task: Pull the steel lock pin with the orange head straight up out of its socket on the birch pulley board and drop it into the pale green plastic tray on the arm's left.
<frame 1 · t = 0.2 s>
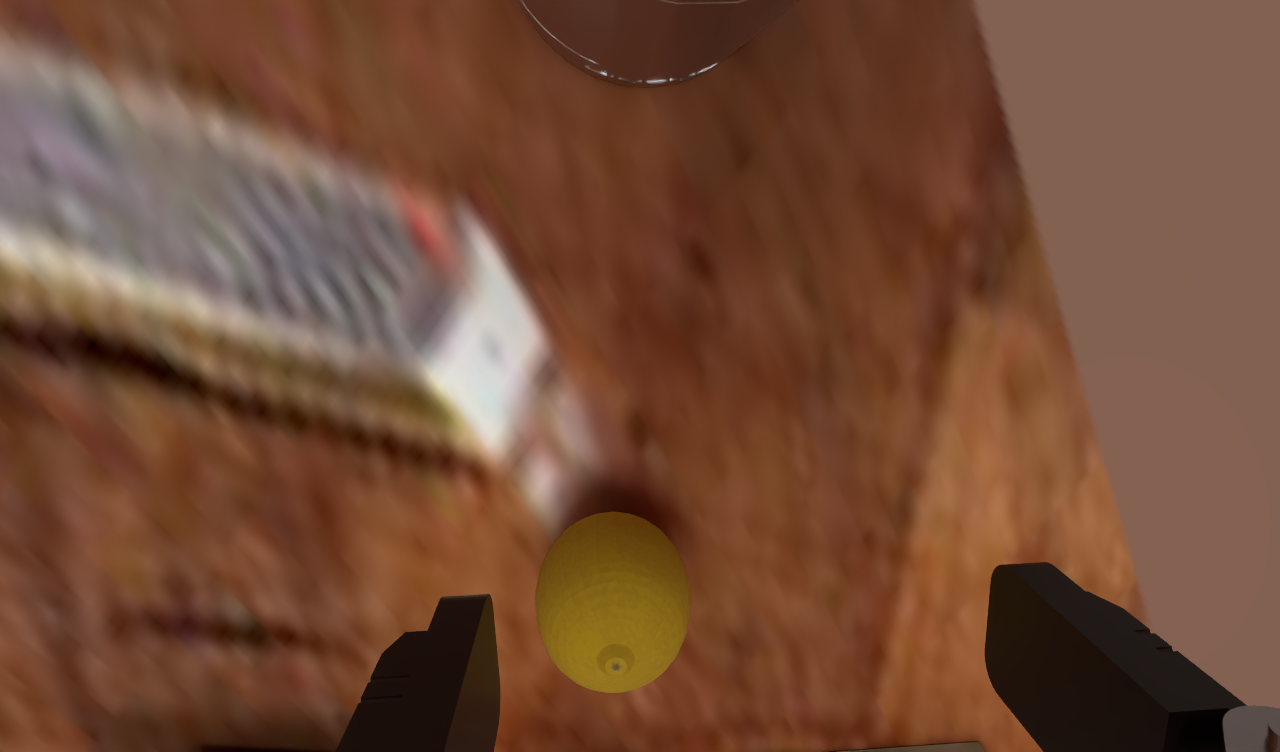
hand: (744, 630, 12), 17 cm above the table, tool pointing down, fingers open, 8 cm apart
lemon: (610, 538, 31), on the table
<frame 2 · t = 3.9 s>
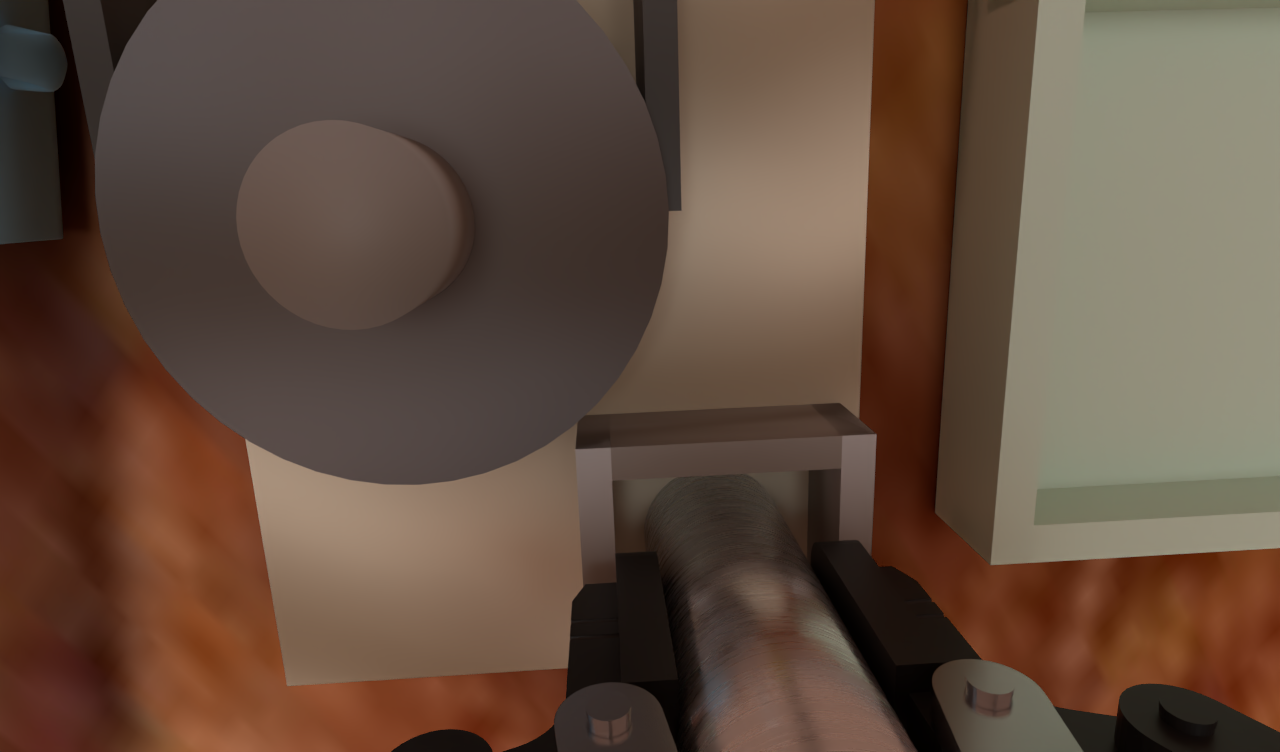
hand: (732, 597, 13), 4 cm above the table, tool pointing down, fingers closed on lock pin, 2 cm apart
pulley board: (557, 332, 16), on the table
tray: (1204, 258, 16), on the table
lock pin: (711, 530, 15), point 1 cm above the table, touching gripper, pulley board
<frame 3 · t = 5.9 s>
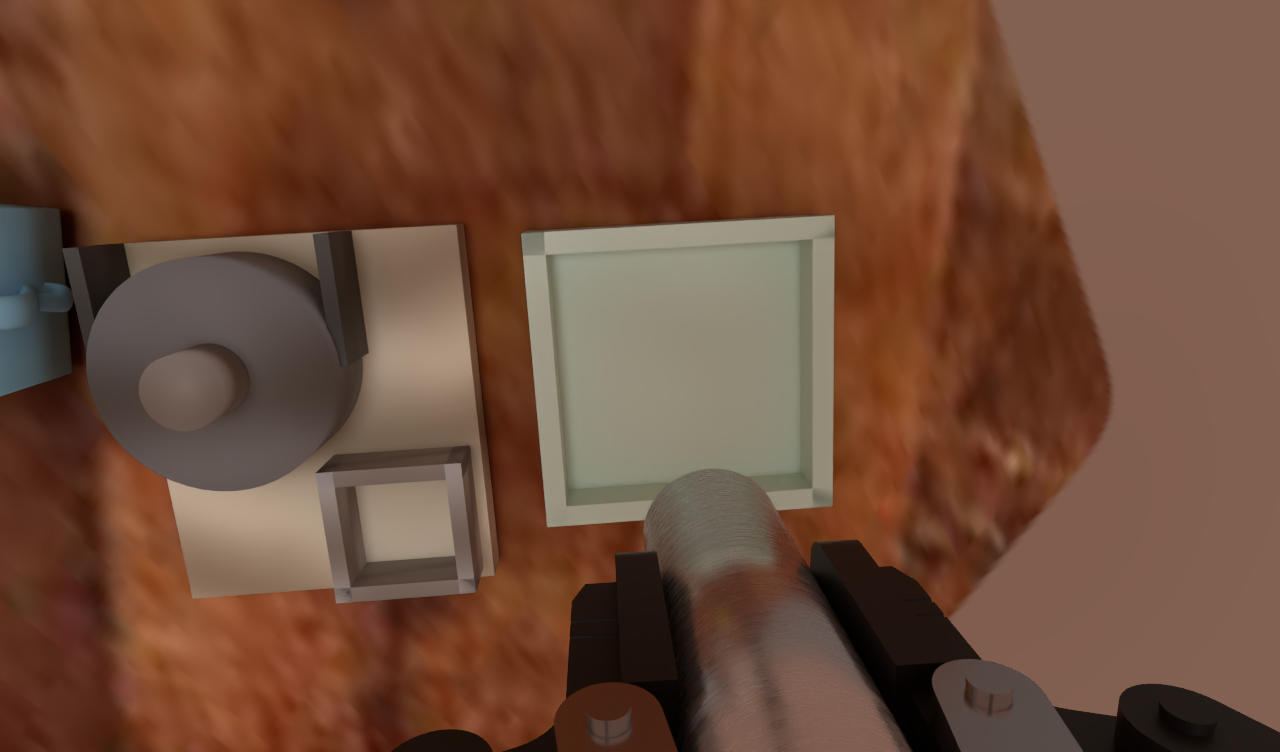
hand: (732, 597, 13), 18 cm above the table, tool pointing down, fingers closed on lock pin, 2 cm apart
pulley board: (331, 409, 30), on the table
tray: (678, 363, 30), on the table
lock pin: (710, 532, 15), point 15 cm above the table, touching gripper
when the fingers open (5 cm above the table, at t = 8.3 s): lock pin drops 2 cm, resting on tray.
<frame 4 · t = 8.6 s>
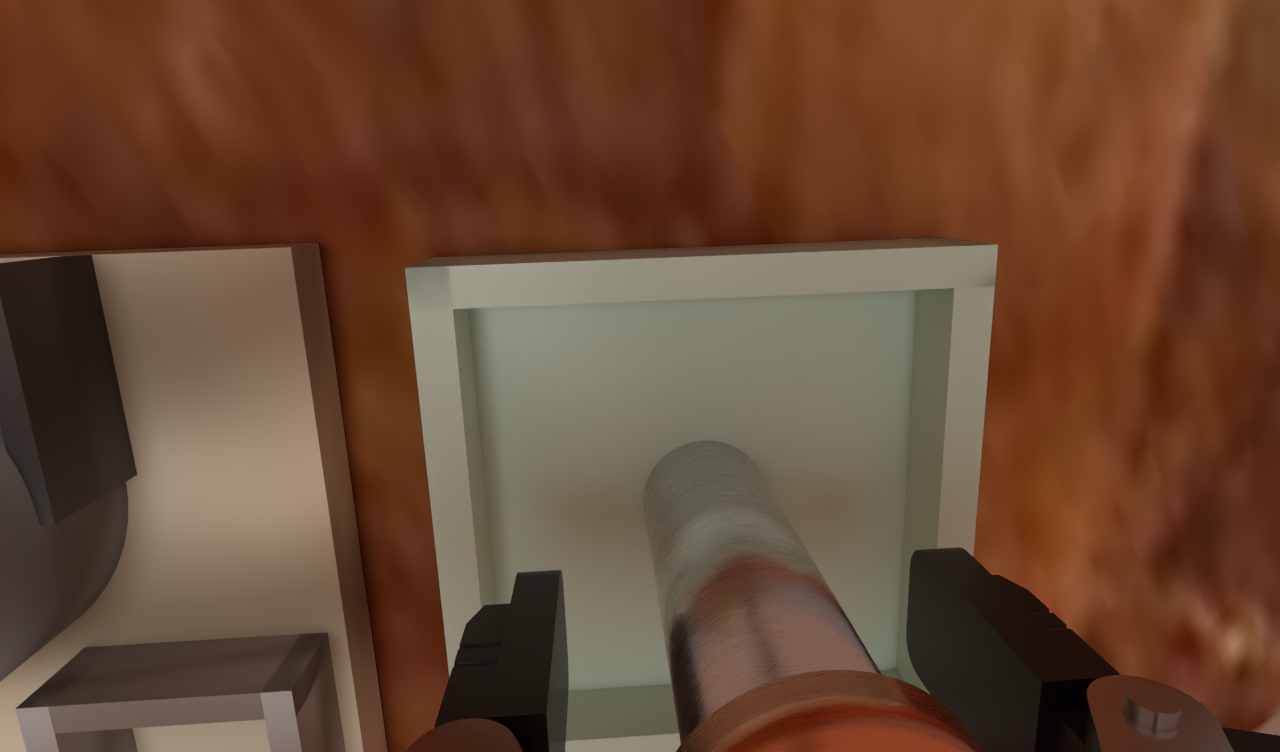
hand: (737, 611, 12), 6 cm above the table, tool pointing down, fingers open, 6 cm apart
pulley board: (97, 557, 17), on the table
tray: (694, 484, 18), on the table
lock pin: (704, 498, 17), point 1 cm above the table, touching tray
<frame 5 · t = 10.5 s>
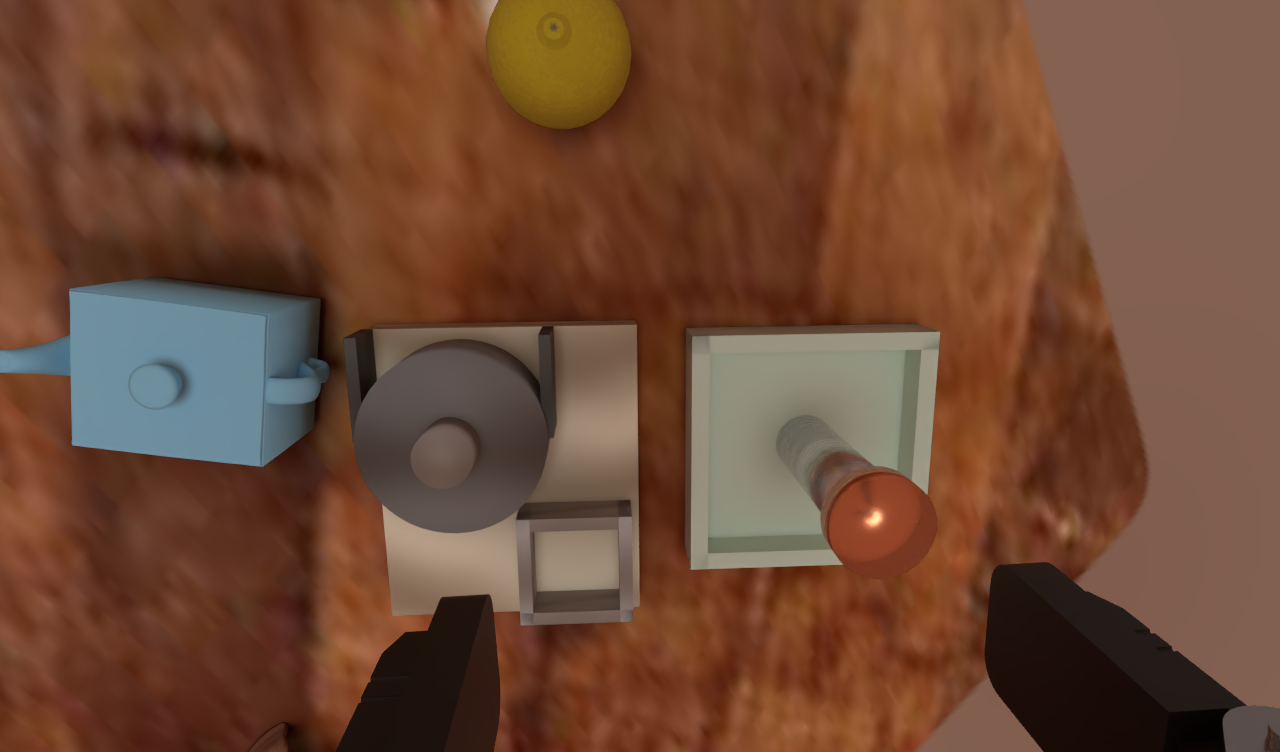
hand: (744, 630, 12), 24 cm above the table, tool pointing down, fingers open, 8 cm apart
pulley board: (513, 464, 36), on the table
tray: (798, 437, 37), on the table
lemon: (564, 72, 33), on the table
lock pin: (804, 443, 36), point 1 cm above the table, touching tray
teapot: (227, 347, 35), on the table
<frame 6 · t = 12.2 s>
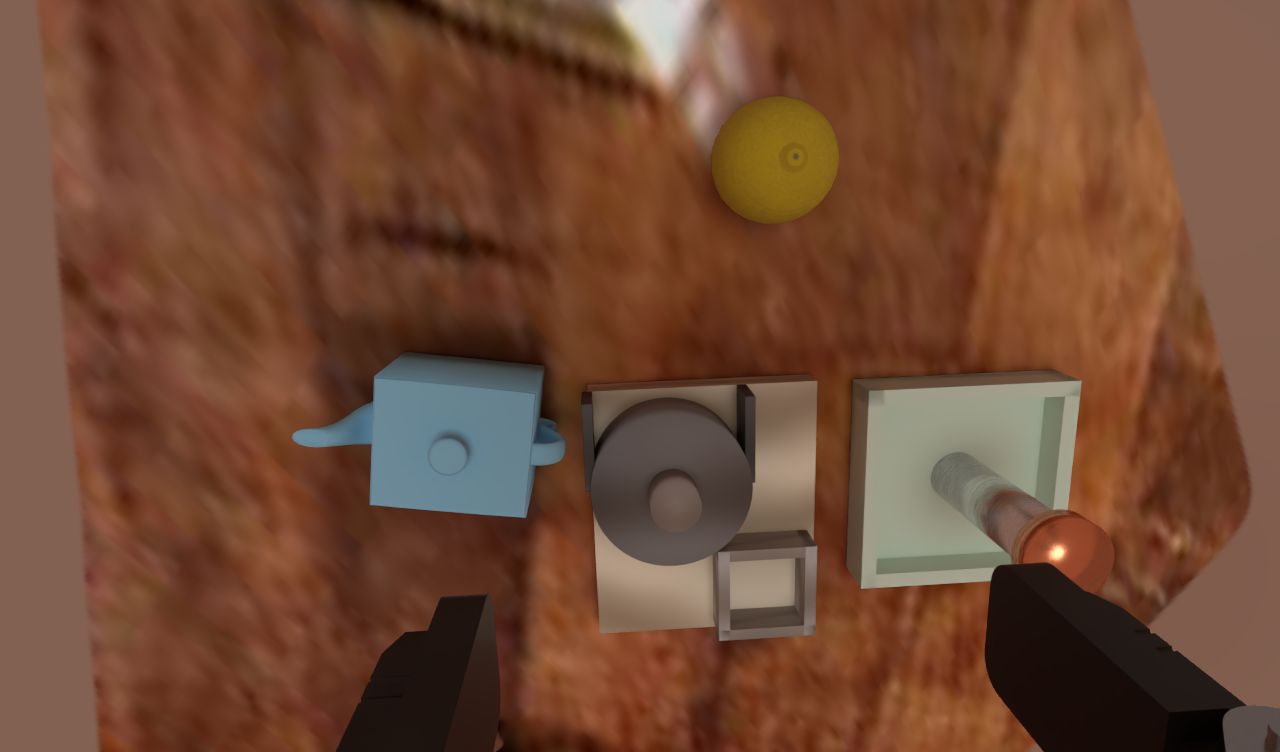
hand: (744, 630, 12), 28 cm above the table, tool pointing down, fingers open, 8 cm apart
pulley board: (701, 500, 42), on the table
tray: (946, 470, 42), on the table
lemon: (754, 165, 38), on the table
lock pin: (955, 476, 41), point 1 cm above the table, touching tray
teapot: (457, 407, 40), on the table
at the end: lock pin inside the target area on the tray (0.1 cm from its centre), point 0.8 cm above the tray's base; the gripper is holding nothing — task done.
